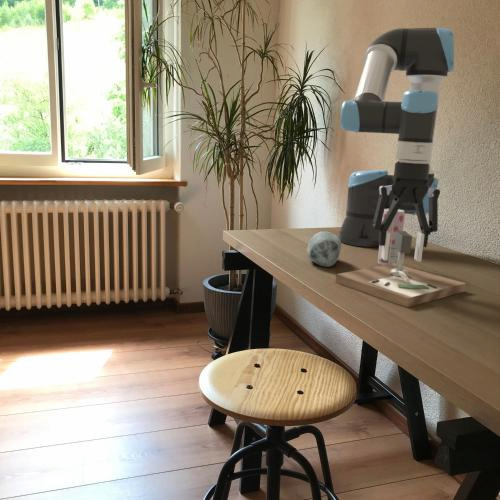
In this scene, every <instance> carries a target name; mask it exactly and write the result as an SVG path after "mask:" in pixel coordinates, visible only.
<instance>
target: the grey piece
mask: <svg viewBox="0 0 500 500" xmlns="http://www.w3.org/2000/svg"><path fill="white" fill-rule="evenodd" d="M412 241H413V236H412V235H411V234H410V233H409V232H407V231H406V230H403V231H396V236H395V245H394V247H395V248H396V249H397V250H398V251H399V253H398V261H397V268H393V269H391V272H390V274H391V275H393V276H397V277H402V278H403V279H404V281H405V282H410V279H409V278H408V277H407V276H408V271H407V270H405V269H403V266H404V262H405V254H411V250H412V249H411V248H412Z"/></svg>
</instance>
